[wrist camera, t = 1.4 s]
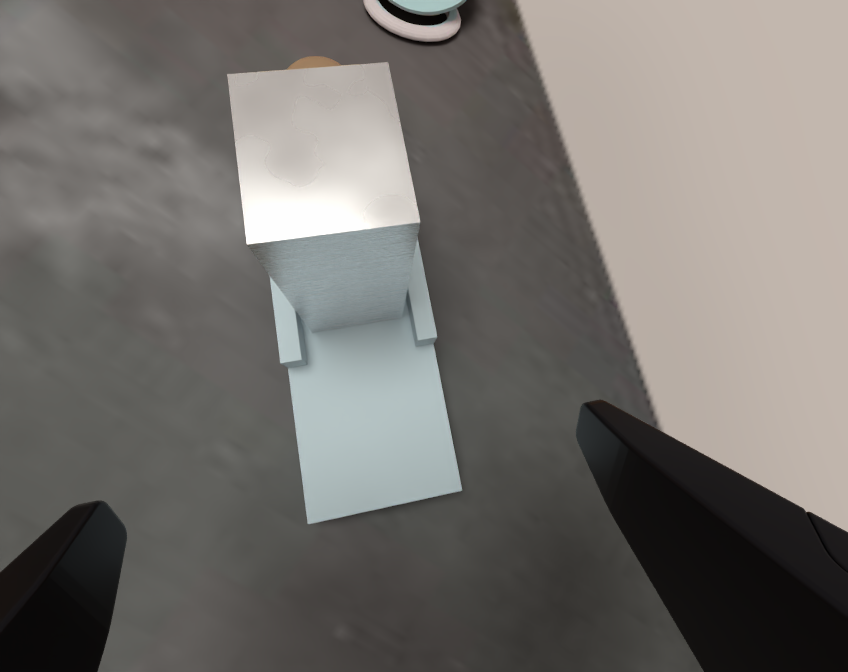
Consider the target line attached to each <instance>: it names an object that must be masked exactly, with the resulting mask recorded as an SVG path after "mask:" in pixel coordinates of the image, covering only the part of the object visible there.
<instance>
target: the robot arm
mask: <svg viewBox="0 0 848 672" xmlns="http://www.w3.org/2000/svg"><path fill="white" fill-rule="evenodd" d="M576 437H577V441H578V444H579V446H580V448H581V450H582V452H583V455H584V457H585V459H586V461H587V463H588V466H589V468H590V470H591V472H592V474H593V476H594V479H595V481H596V483H597V485H598V487H599V490H600V492H601V494H602V496H603V498H604V500H605V502H606V505H607V507H608V509H609V511H610V512H611V514H612V516H613V518H614V520H615V521H616V523H617V525H618V526H619V528H620V530H621V532H622V533H623V535H624V537H625V538H626V540H627V542H628V543H629V545H630V547H631V549H632V550H633V552H634V554H635V555H636V557H637V559H638V560H639V562H640V564H641V566H642V567H643V569H644V571H645V572H646V574H647V576H648V577H649V579H650V581H651V583H652V584H653V586H654V588H655V589H656V591H657V593H658V594H659V596H660V598H661V600H662V601H663V603H664V605H665V606H666V608H667V610H668V611H669V613H670V615H671V617H672V618H673V620H674V622H675V623H676V625H677V627H678V628H679V630H680V632H681V634H682V635H683V637H684V639H685V640H686V642H687V644H688V645H689V647H690V649H691V651H692V652H693V654H694V656H695V657H696V659H697V661H698V662H699V664H700V666H701V668H702V669H703V671H704V672H848V532H846V531H845V530H843V529H841V528H839V527H837V526H835V525H833V524H831V523H830V522H828V521H826V520H824V519H822V518H820V517H819V516H817V515H815V514H813V513H811V512H806V511H805V510H804V509H803V508H802V507H800V506H798V505H796V504H794V503H792V502H791V501H789V500H787V499H785V498H783V497H781V496H779V495H778V494H776V493H774V492H772V491H770V490H768V489H767V488H765V487H763V486H761V485H759V484H757V483H756V482H754V481H752V480H750V479H748V478H746V477H744V476H743V475H741V474H739V473H737V472H735V471H733V470H732V469H729V468H728V467H726V466H724V465H722V464H720V463H718V462H717V461H715V460H713V459H711V458H709V457H708V456H706V455H704V454H702V453H700V452H698V451H697V450H695V449H693V448H691V447H689V446H687V445H686V444H684V443H682V442H680V441H678V440H676V439H675V438H673V437H671V436H669V435H667V434H665V433H663V432H662V431H660V430H658V429H656V428H654V427H652V426H651V425H649V424H647V423H645V422H643V421H641V420H639V419H638V418H636V417H634V416H632V415H630V414H628V413H627V412H625V411H623V410H621V409H619V408H617V407H616V406H614V405H612V404H610V403H608V402H606V401H604V400H596V401H591V402H586V403H583V405H582V406H581V408H580V413H579V418H578V423H577V428H576ZM126 541H127V532H126V528H125V526H124V524H123V523H122V521H121V520H120V519H119V518H118V516H117V515H116V514H115V513H114V511H113V510H112V509H111V508H110V506H109V505H108V504H107V503H106V502H104V501H93V502H88V503H83V504H79V505H76V506H74V507H72V508H71V509H70V510H68V511H67V512H66V513H65V514H64V515H63V516H62V517H61V518H60V519H59V520H57V521H56V522H55V523H54V524H53V525H52V526H51V527H50V528H49V529H47V530H46V531H45V532H44V533H43V534H42V535H41V536H40V537H39V538H38V539H36V540H35V541H34V542H33V543H32V544H31V545H30V546H29V547H28V548H27V549H25V550H24V551H23V552H22V553H21V554H20V555H19V556H18V557H17V558H16V559H14V560H13V561H12V562H11V563H10V564H9V565H8V566H7V567H6V568H4V569H3V570H2V571H1V572H0V672H97V671H98V668H99V665H100V661H101V658H102V655H103V651H104V648H105V644H106V640H107V637H108V633H109V629H110V625H111V620H112V616H113V610H114V605H115V600H116V594H117V589H118V584H119V578H120V573H121V568H122V562H123V557H124V552H125V546H126Z"/></svg>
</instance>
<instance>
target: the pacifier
mask: <svg viewBox="0 0 848 672" xmlns="http://www.w3.org/2000/svg"><path fill="white" fill-rule="evenodd" d="M363 1H364V5H365V8H366V10H367V11H368V13H369V14H370V16H371V17H372V18H373V19H374V20H375V21H376V22H377V23H378V24H379V25H380V26H382V27H384V28H385V29H387V30H388V31H390V32H392V33H394V34H397V35H399V36H401V37H404V38H408V39H411V40H416V41H423V42H436V41H442V40H445V39H448V38H450V37H452V36H453V35H455V34H456V32H457V31H458V30H459V28H460V24H461V18H460V15H459V12H458V10H457V7H459V6H460V5H462V4H463V3H464V2H466V1H467V0H388V1H390V2H391V3H392V4H394V5H396V6H397V7H399V8H401V9H403V10H405V11H408V12H411V13H415V14H419V15H424V16H434V15H439V14H441V13H445V14H446V16H447V20H446V21H445V22H443V23H441V24H438V25H433V26H422V25H415V24H411V23H408V22H405V21H403V20H400V19H398V18H396V17H395V16H393V15H391V14H390V13H389V12H388V11H386V10H385V9H384V8H383V7H382V5H381V4H380V2H379V1H378V0H363Z"/></svg>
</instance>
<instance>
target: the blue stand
mask: <svg viewBox="0 0 848 672" xmlns="http://www.w3.org/2000/svg"><path fill="white" fill-rule="evenodd" d="M330 66H342V65H340V64H339V63H337V62H336V61H334V60H332V59H329V58H326V57H320V56H312V57H306V58H302V59H300V60H298V61H296V62H294V63H293V64H292V65H291V66H290V67H289V68H288V69H287V70H289V69H303V68H316V67H330ZM270 282H271V290H272V298H273V306H274V314H275V322H276V330H277V338H278V346H279V355H280V363H281V364H283V365H284V366H286V367H287V368H288V372H289V379H290V387H291V395H292V403H293V411H294V419H295V427H296V435H297V442H298V450H299V458H300V466H301V474H302V482H303V490H304V498H305V505H306V513H307V521H308V524H312V523H317V522H321V521H326V520H331V519H335V518H340V517H344V516H349V515H353V514H358V513H362V512H367V511H371V510H376V509H381V508H385V507H390V506H394V505H399V504H403V503H408V502H412V501H417V500H422V499H426V498H431V497H435V496H440V495H444V494H449V493H453V492H458V491H462V486H461V481H460V476H459V471H458V466H457V461H456V456H455V451H454V446H453V441H452V436H451V431H450V426H449V420H448V415H447V410H446V405H445V400H444V395H443V390H442V385H441V380H440V375H439V370H438V365H437V360H436V354H435V349H434V344H433V343H434V342H435V340H436V338H437V333H436V328H435V323H434V318H433V313H432V308H431V303H430V298H429V293H428V288H427V283H426V278H425V273H424V268H423V263H422V258H421V253H420V248H419V243H418V238H417V242H416V248H415V253H414V258H413V263H412V269H411V274H410V279H409V284H408V289H407V295H406V300H405V305H404V310H403V316H402V318H401V319H395V320H389V321H383V322H376V323H370V324H364V325H357V326H351V327H345V328H339V329H332V330H326V331H320V332H313V333H312V332H311V331H310V330H309V328H308V327H307V326H306V324H305V323H304V321H303V320H302V319H301V317H300V316H299V315H298V313H297V312H296V311H295V309H294V308H293V307H292V305H291V304H290V302H289V301H288V300H287V298H286V297H285V296H284V294H283V293H282V292H281V290H280V289H279V287H278V286H277V285H276V283H275V282H274V281H273V279H272V278H271V277H270Z"/></svg>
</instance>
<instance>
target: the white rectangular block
mask: <svg viewBox="0 0 848 672" xmlns="http://www.w3.org/2000/svg"><path fill="white" fill-rule="evenodd" d="M227 75H228V84H229V93H230V102H231V110H232V119H233V128H234V137H235V145H236V154H237V163H238V172H239V180H240V189H241V198H242V206H243V215H244V224H245V233H246V241H247V245H248V247H249V248H250V249H251V251H252V252H253V254H254V255H255V256H256V258H257V259H258V260H259V262H260V263H261V264H262V266H263V267H264V268H265V270H266V271H267V273H268V274H269V275H270V277H271V278H272V279H273V281H274V282H275V283H276V285H277V286H278V287H279V289H280V290H281V292H282V293H283V294H284V296H285V297H286V298H287V300H288V301H289V302H290V304H291V305H292V307H293V308H294V309H295V311H296V312H297V313H298V315H299V316H300V317H301V319H302V320H303V321H304V323H305V324H306V326H307V327H308V328H309V330H310V331H311V332H312V333H313V332H320V331H326V330H332V329H339V328H345V327H351V326H357V325H364V324H370V323H376V322H383V321H389V320H395V319H401V318H402V316H403V310H404V305H405V300H406V295H407V289H408V284H409V279H410V274H411V269H412V263H413V258H414V253H415V248H416V242H417V237H418V232H419V227H420V218H419V213H418V208H417V203H416V198H415V193H414V188H413V183H412V179H411V174H410V169H409V164H408V159H407V154H406V149H405V144H404V139H403V134H402V129H401V124H400V119H399V114H398V109H397V104H396V99H395V95H394V90H393V85H392V80H391V75H390V70H389V65H388V62H386V63H373V64H357V65H343V66H330V67H316V68H303V69H289V70H276V71H263V72H252V73H238V74H227Z"/></svg>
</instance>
